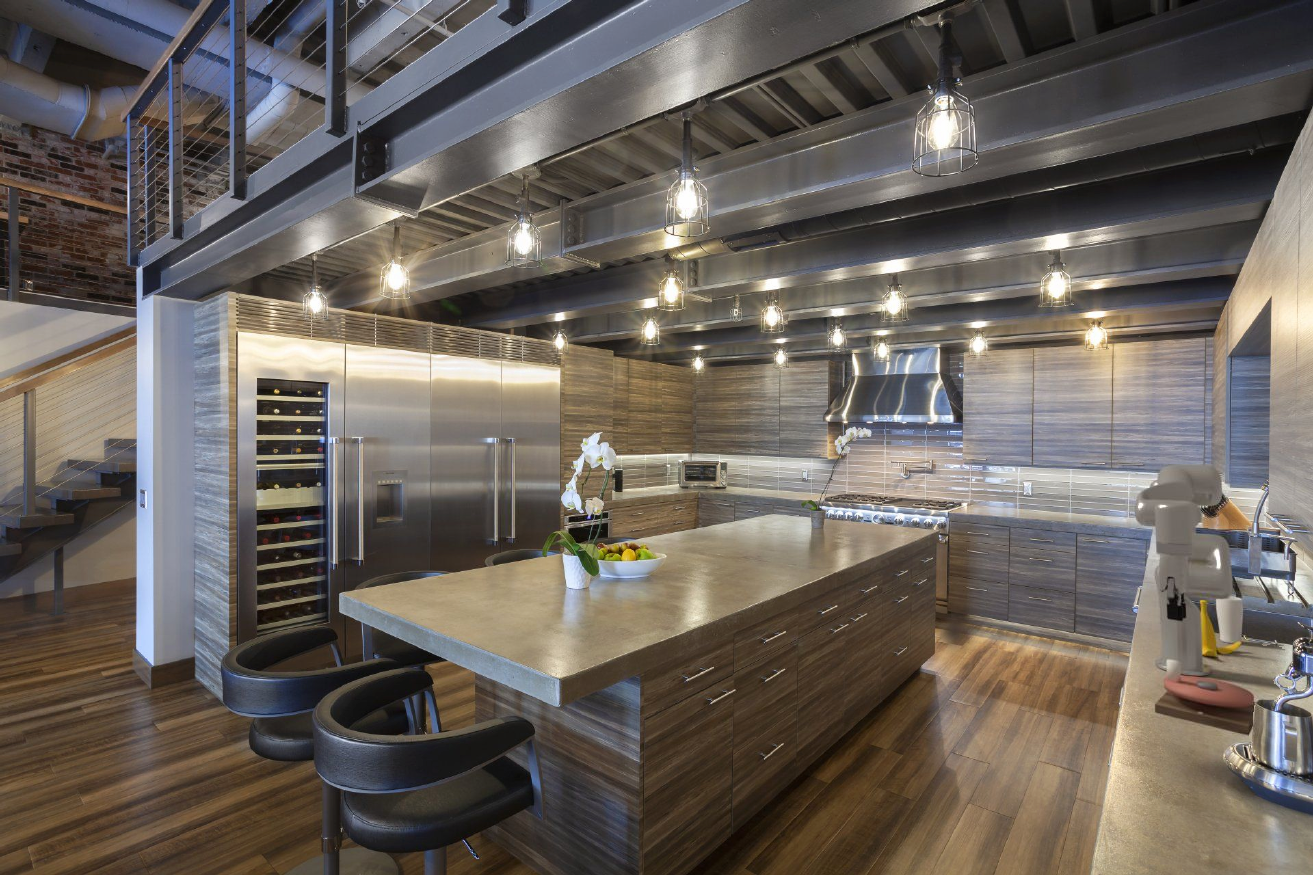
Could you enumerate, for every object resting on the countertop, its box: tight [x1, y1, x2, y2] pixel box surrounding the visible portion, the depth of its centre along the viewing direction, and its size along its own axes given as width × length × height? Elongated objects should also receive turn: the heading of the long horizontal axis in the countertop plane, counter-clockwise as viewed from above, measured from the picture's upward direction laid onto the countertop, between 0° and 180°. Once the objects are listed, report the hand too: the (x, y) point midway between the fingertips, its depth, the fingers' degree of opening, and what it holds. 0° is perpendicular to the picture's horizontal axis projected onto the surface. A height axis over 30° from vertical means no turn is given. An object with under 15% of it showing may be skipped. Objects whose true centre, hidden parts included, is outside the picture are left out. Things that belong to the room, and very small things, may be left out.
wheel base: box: [1154, 690, 1256, 736], centre depth 157 cm, size 20×17×4 cm
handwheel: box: [1163, 660, 1255, 707], centre depth 157 cm, size 17×17×6 cm
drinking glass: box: [1215, 595, 1244, 645], centre depth 212 cm, size 7×7×15 cm
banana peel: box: [1199, 599, 1243, 658], centre depth 201 cm, size 17×19×17 cm
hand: (1176, 617), depth 166 cm, fingers open, 3 cm apart
